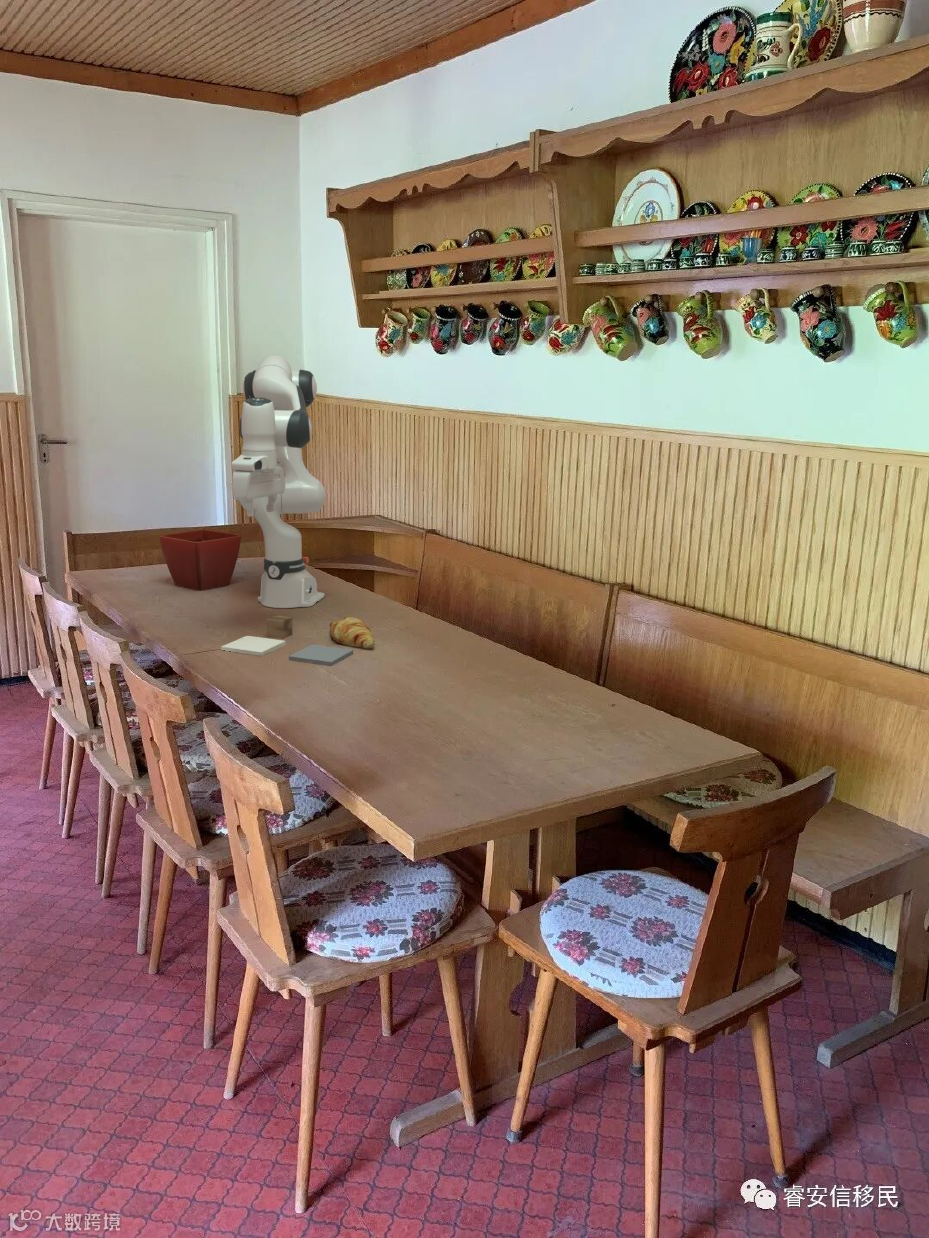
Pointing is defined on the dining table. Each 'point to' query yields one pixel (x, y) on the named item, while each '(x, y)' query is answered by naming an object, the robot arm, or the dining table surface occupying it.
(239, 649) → the pad
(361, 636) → the croissant
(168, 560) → the plant pot
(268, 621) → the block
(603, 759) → the dining table surface
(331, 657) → the pad
